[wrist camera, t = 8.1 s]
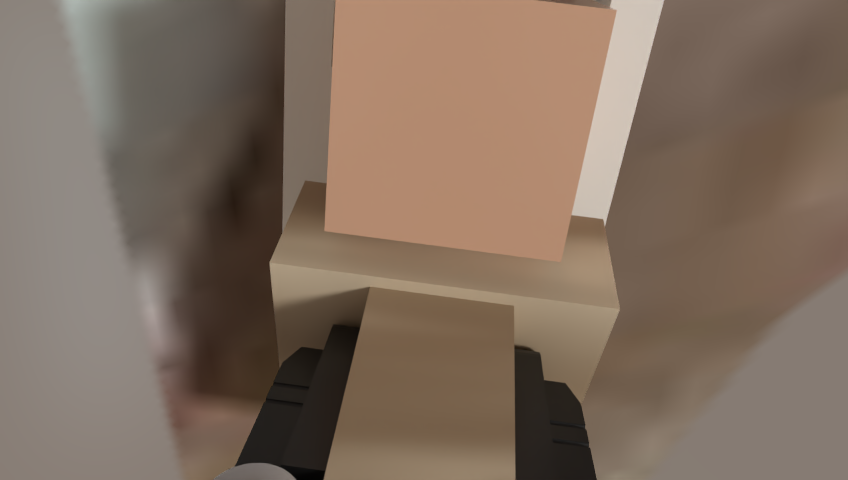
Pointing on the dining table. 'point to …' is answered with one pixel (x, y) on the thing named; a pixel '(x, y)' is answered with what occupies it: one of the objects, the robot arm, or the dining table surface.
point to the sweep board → (313, 78)
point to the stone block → (463, 120)
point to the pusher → (437, 339)
